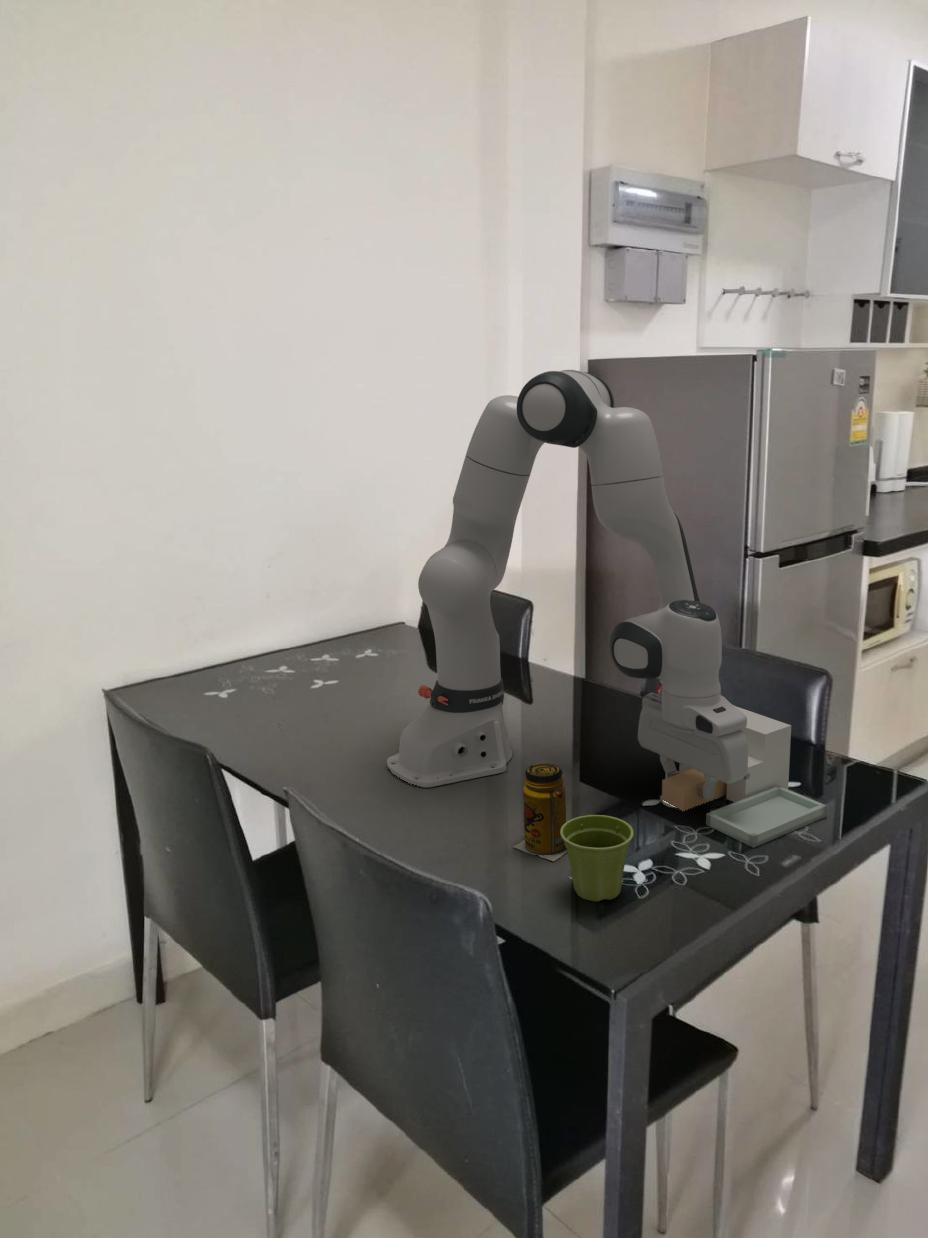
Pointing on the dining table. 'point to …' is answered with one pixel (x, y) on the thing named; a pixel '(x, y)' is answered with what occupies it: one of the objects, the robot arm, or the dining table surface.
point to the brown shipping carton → (688, 789)
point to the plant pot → (597, 854)
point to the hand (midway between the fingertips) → (688, 789)
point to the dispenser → (761, 757)
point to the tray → (766, 816)
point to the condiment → (544, 811)
